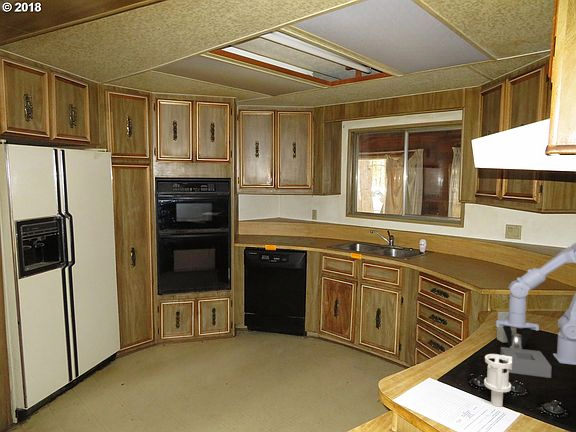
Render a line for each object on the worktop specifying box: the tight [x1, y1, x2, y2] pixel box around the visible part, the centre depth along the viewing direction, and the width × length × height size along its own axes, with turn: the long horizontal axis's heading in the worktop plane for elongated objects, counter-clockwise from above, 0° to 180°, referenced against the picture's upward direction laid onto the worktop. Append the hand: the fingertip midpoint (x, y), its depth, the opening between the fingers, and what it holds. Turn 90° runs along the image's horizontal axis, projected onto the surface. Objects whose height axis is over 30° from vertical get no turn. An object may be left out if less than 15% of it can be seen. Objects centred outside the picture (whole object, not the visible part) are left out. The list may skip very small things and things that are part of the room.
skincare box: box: [496, 311, 517, 343], centre depth 166 cm, size 6×4×12 cm
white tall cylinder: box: [483, 353, 512, 408], centre depth 117 cm, size 7×7×15 cm
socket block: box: [500, 346, 552, 379], centre depth 142 cm, size 13×13×4 cm
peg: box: [509, 332, 523, 349], centre depth 154 cm, size 4×4×7 cm
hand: (515, 346), depth 154 cm, fingers closed on peg, 4 cm apart
